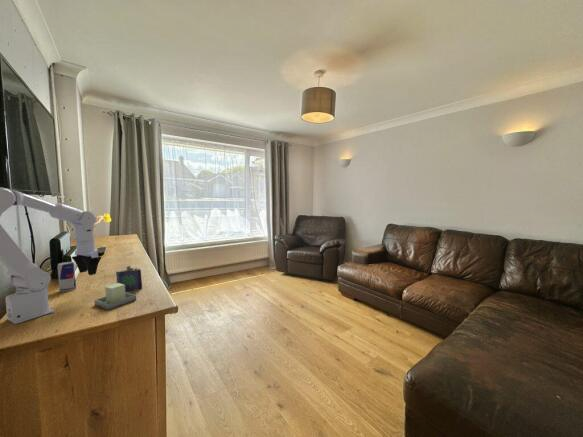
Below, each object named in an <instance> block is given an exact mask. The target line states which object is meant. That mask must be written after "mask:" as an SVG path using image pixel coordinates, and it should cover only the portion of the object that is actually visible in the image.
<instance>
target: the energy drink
mask: <svg viewBox="0 0 583 437" xmlns="http://www.w3.org/2000/svg"><path fill="white" fill-rule="evenodd" d="M56 268H57V276H58V286H59V292H61V293H63V292H70V291H74V290H75V289H76V288H77V280H76V272H75V262H73V261H65V262H60V263H57V267H56Z"/></svg>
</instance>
